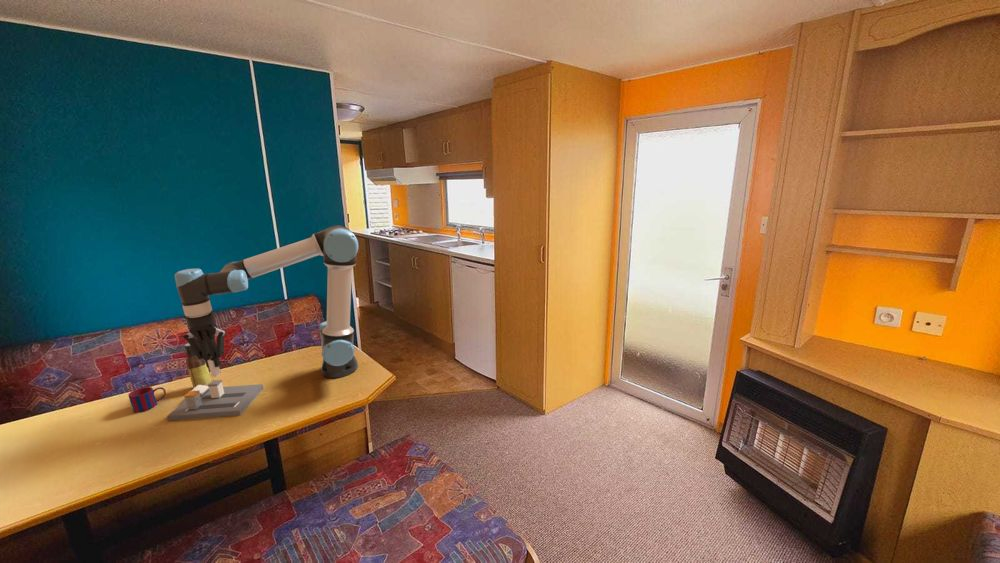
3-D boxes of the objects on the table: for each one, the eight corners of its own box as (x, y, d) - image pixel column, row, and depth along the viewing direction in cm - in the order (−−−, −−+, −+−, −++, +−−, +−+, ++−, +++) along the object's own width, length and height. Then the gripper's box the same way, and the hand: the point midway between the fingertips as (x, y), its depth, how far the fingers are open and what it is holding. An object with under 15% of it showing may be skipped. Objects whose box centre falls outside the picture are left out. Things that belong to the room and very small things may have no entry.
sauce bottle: (216, 384, 160) (206, 340, 155) (204, 392, 154) (192, 347, 149) (202, 383, 161) (191, 340, 155) (189, 391, 155) (177, 346, 149)
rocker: (209, 390, 153) (209, 386, 152) (201, 397, 148) (201, 393, 148) (198, 388, 152) (198, 384, 152) (190, 395, 147) (190, 391, 147)
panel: (263, 388, 157) (262, 384, 156) (240, 415, 139) (239, 410, 139) (199, 393, 154) (198, 388, 153) (167, 420, 137) (166, 415, 136)
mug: (135, 406, 146) (130, 390, 144) (169, 397, 151) (164, 382, 149) (131, 415, 140) (126, 398, 138) (167, 405, 146) (162, 389, 144)
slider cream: (224, 393, 149) (221, 379, 148) (220, 397, 146) (216, 384, 145) (215, 393, 149) (212, 380, 148) (210, 398, 146) (207, 384, 144)
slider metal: (202, 404, 142) (199, 390, 141) (197, 409, 139) (193, 395, 138) (193, 404, 142) (189, 391, 140) (187, 409, 139) (184, 395, 137)
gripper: (225, 308, 136) (241, 367, 143) (186, 311, 135) (203, 371, 141) (213, 316, 129) (230, 378, 136) (171, 319, 127) (190, 382, 134)
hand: (216, 374), depth 139 cm, fingers closed
